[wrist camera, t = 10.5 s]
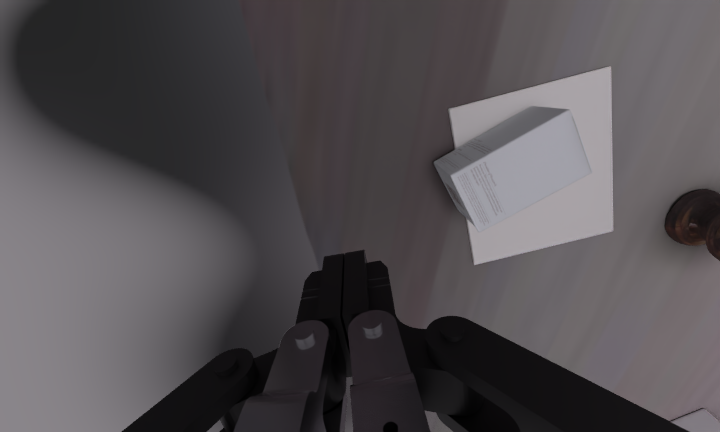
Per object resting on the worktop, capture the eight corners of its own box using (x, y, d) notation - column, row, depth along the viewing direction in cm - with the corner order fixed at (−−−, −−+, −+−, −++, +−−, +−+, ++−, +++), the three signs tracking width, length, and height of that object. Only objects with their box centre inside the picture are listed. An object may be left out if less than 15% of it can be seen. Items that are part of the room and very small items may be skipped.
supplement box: (479, 235, 36) (596, 173, 34) (448, 174, 34) (571, 105, 32) (458, 212, 43) (555, 160, 41) (431, 161, 41) (532, 103, 39)
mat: (447, 108, 40) (449, 109, 39) (607, 66, 39) (610, 66, 38) (473, 262, 46) (474, 264, 46) (609, 229, 45) (613, 231, 45)
